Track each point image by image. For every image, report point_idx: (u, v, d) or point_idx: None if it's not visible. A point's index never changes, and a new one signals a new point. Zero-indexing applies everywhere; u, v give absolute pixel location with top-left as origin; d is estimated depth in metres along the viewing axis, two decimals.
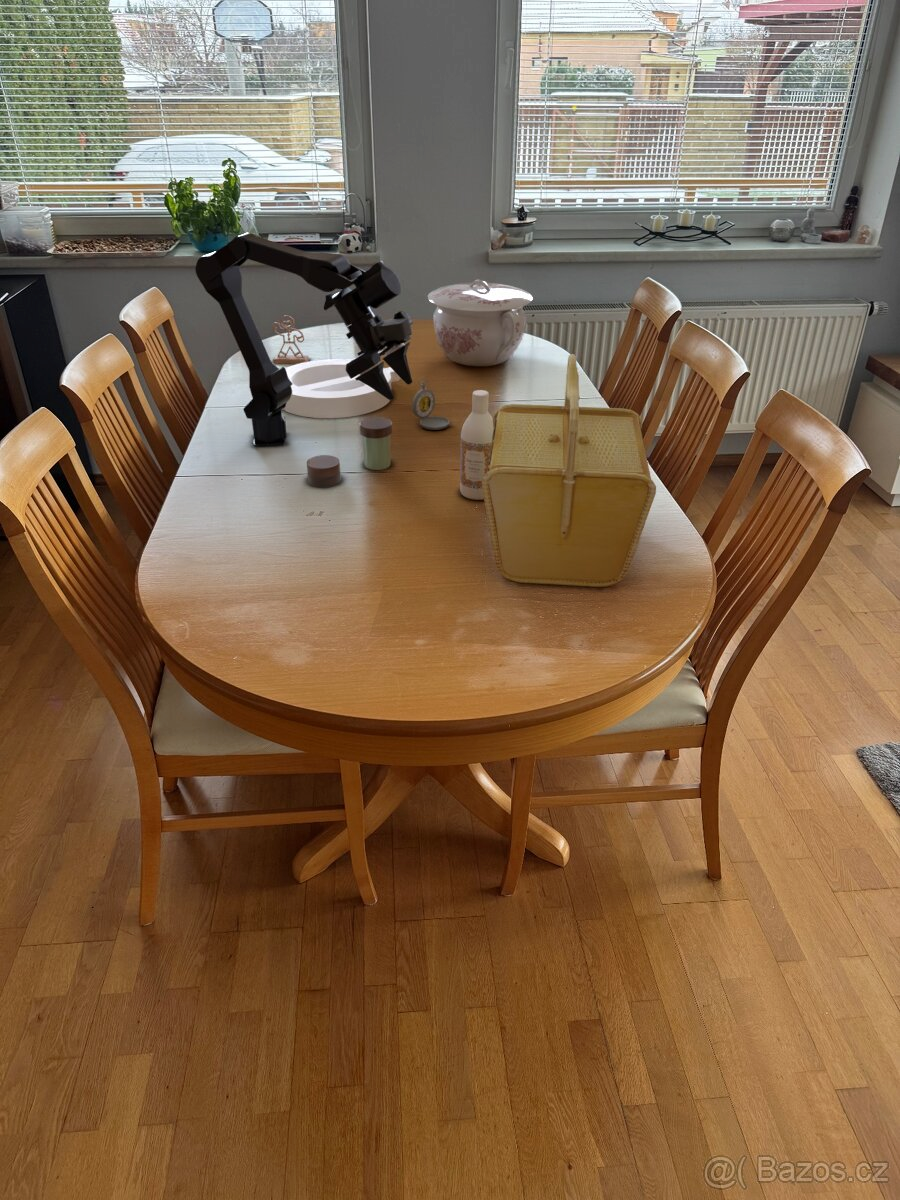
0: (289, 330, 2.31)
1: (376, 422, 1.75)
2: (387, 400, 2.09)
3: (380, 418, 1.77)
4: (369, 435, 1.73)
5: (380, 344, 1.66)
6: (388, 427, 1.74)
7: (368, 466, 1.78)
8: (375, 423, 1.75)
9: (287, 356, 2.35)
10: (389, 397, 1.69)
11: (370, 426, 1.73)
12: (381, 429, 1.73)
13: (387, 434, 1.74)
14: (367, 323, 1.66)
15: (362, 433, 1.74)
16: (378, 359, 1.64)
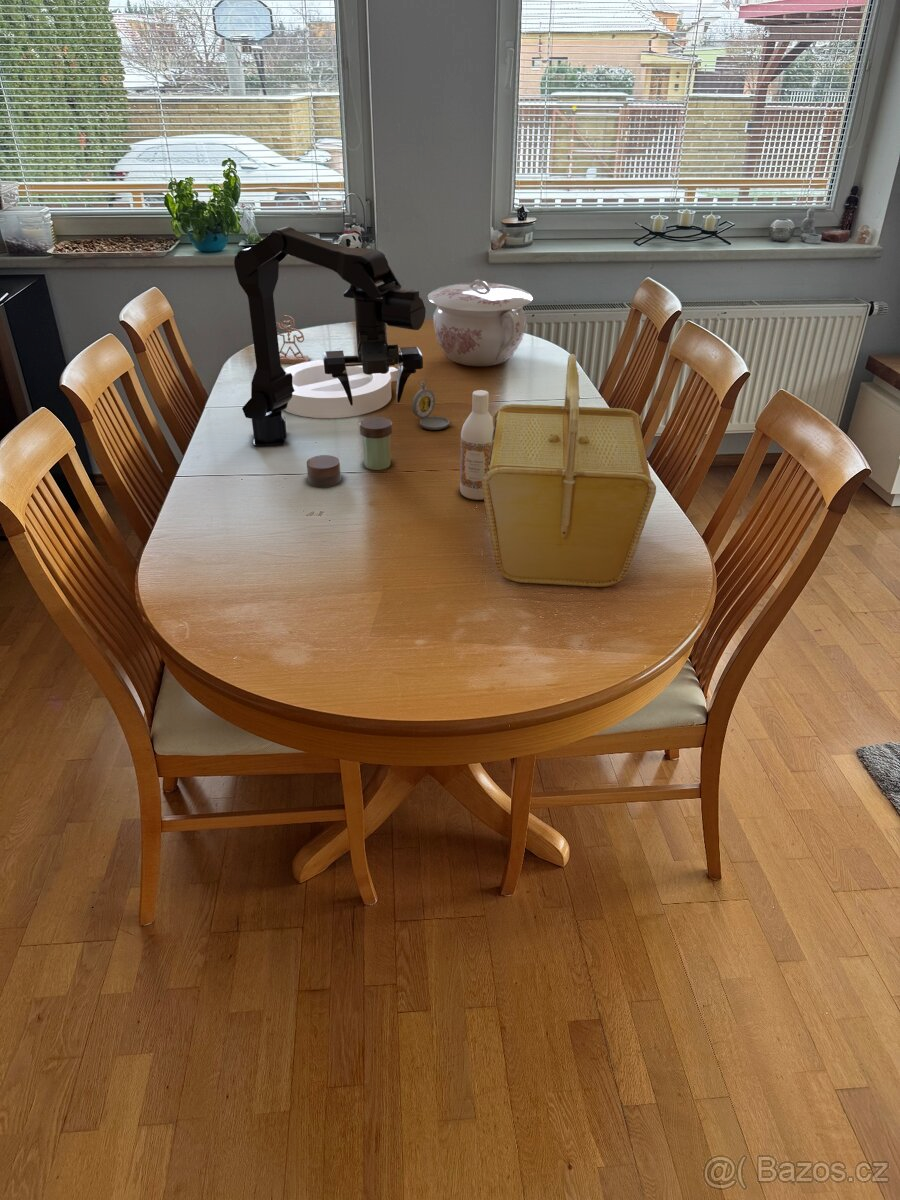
0: (289, 330, 2.31)
1: (376, 422, 1.75)
2: (387, 400, 2.09)
3: (380, 418, 1.77)
4: (369, 435, 1.73)
5: (358, 359, 1.65)
6: (388, 427, 1.74)
7: (368, 466, 1.78)
8: (375, 423, 1.75)
9: (287, 356, 2.35)
10: (349, 401, 1.72)
11: (370, 426, 1.73)
12: (381, 429, 1.73)
13: (387, 434, 1.74)
14: (359, 334, 1.63)
15: (362, 433, 1.74)
16: (338, 371, 1.65)
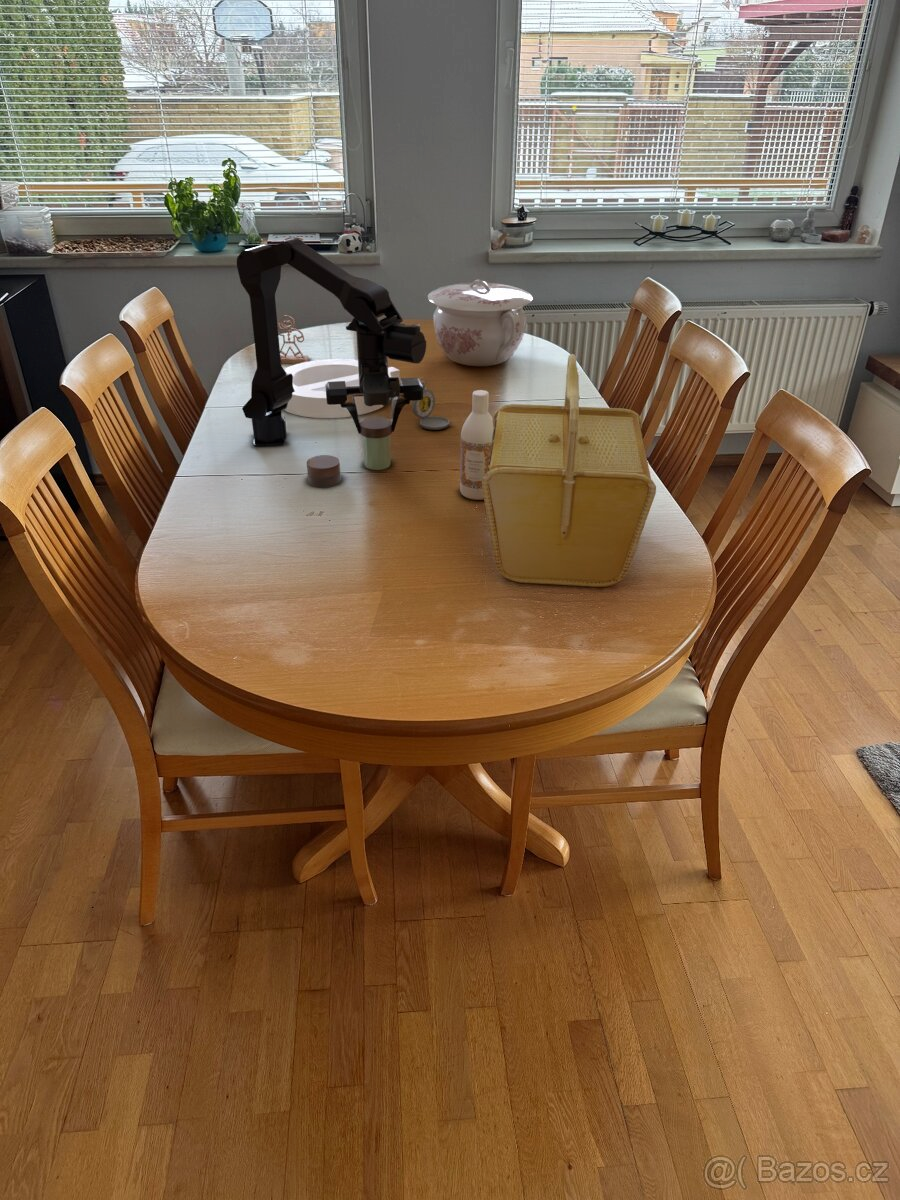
0: (289, 330, 2.31)
1: (376, 422, 1.75)
2: None
3: (380, 418, 1.77)
4: (369, 435, 1.73)
5: (360, 390, 1.68)
6: (388, 427, 1.74)
7: (368, 466, 1.78)
8: (375, 423, 1.75)
9: (287, 356, 2.35)
10: (357, 430, 1.75)
11: (370, 426, 1.73)
12: (381, 429, 1.73)
13: (387, 434, 1.74)
14: (361, 367, 1.66)
15: (362, 433, 1.74)
16: (340, 402, 1.68)
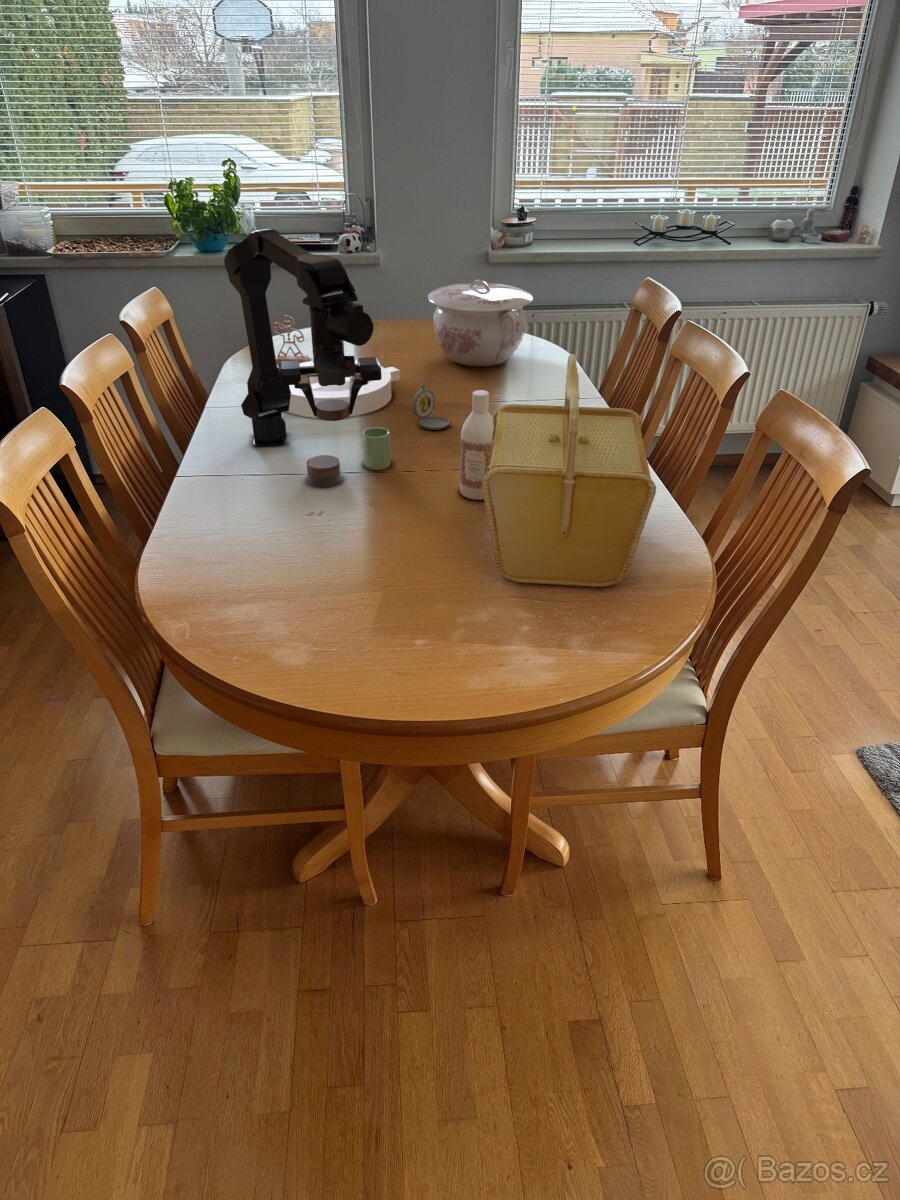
0: (289, 330, 2.31)
1: (333, 404, 1.67)
2: (387, 400, 2.09)
3: (337, 400, 1.69)
4: (326, 417, 1.65)
5: (314, 370, 1.60)
6: (345, 409, 1.66)
7: (368, 466, 1.78)
8: (332, 406, 1.66)
9: (287, 356, 2.35)
10: None
11: (326, 408, 1.65)
12: (338, 411, 1.65)
13: (344, 416, 1.66)
14: (315, 345, 1.58)
15: (318, 416, 1.66)
16: (294, 382, 1.60)
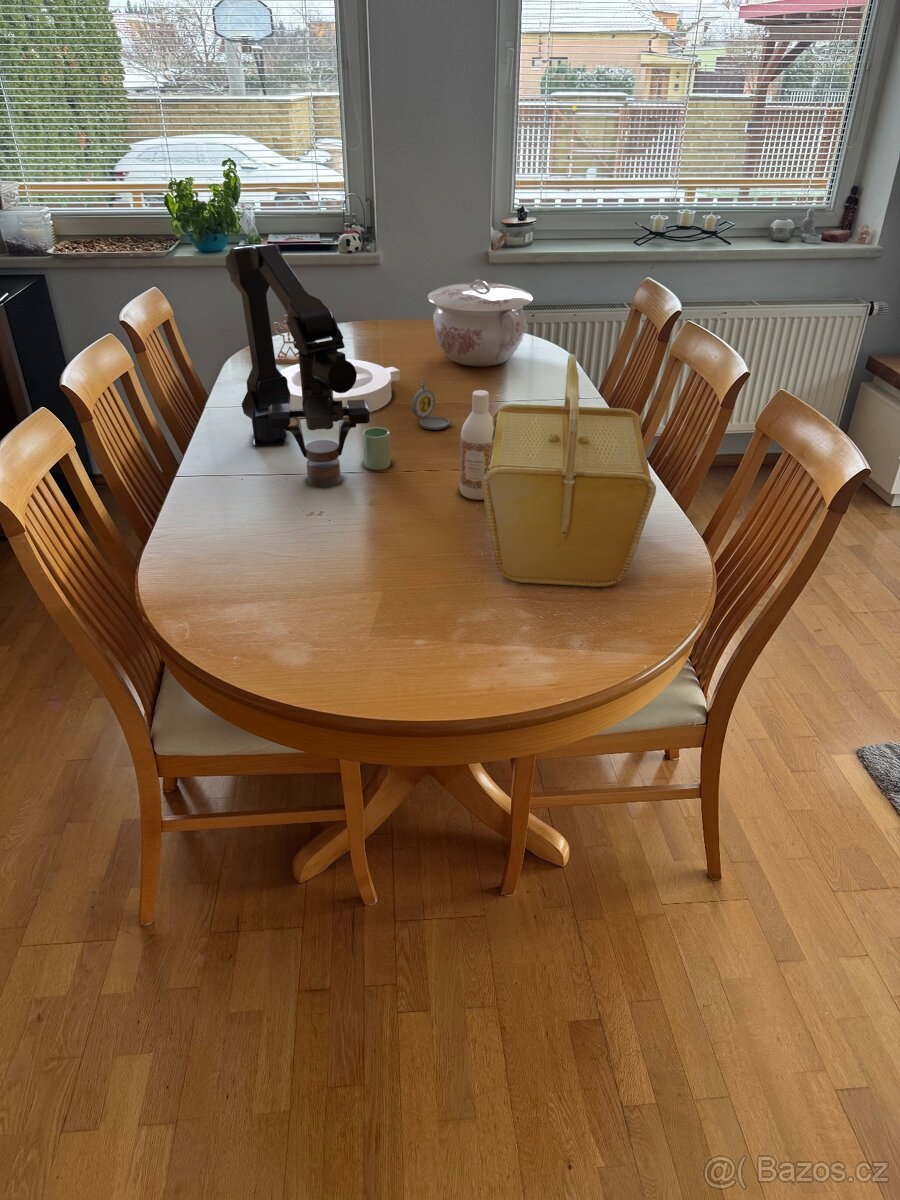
0: None
1: (322, 445, 1.70)
2: (387, 400, 2.09)
3: (327, 441, 1.72)
4: (315, 459, 1.68)
5: (303, 414, 1.63)
6: (334, 451, 1.68)
7: (368, 466, 1.78)
8: (321, 447, 1.69)
9: (287, 356, 2.35)
10: (303, 454, 1.70)
11: (316, 450, 1.68)
12: (327, 453, 1.67)
13: (333, 458, 1.69)
14: (304, 389, 1.61)
15: (308, 457, 1.69)
16: (283, 425, 1.63)
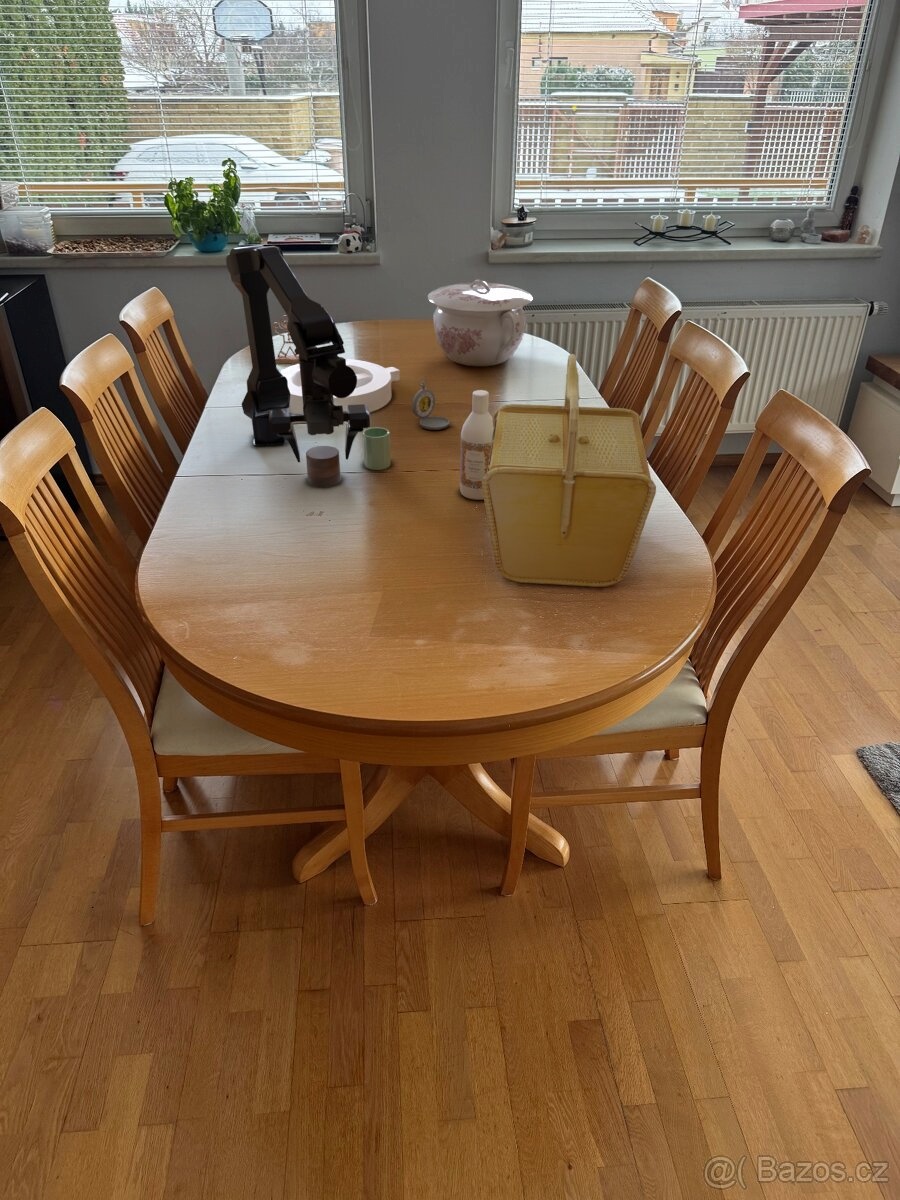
0: None
1: (323, 451, 1.70)
2: (387, 400, 2.09)
3: (327, 447, 1.72)
4: (315, 465, 1.68)
5: (304, 418, 1.63)
6: (335, 457, 1.69)
7: (368, 466, 1.78)
8: (322, 453, 1.70)
9: (287, 356, 2.35)
10: None
11: (316, 456, 1.69)
12: (327, 459, 1.68)
13: (334, 464, 1.69)
14: (304, 394, 1.61)
15: (308, 463, 1.69)
16: (284, 430, 1.63)
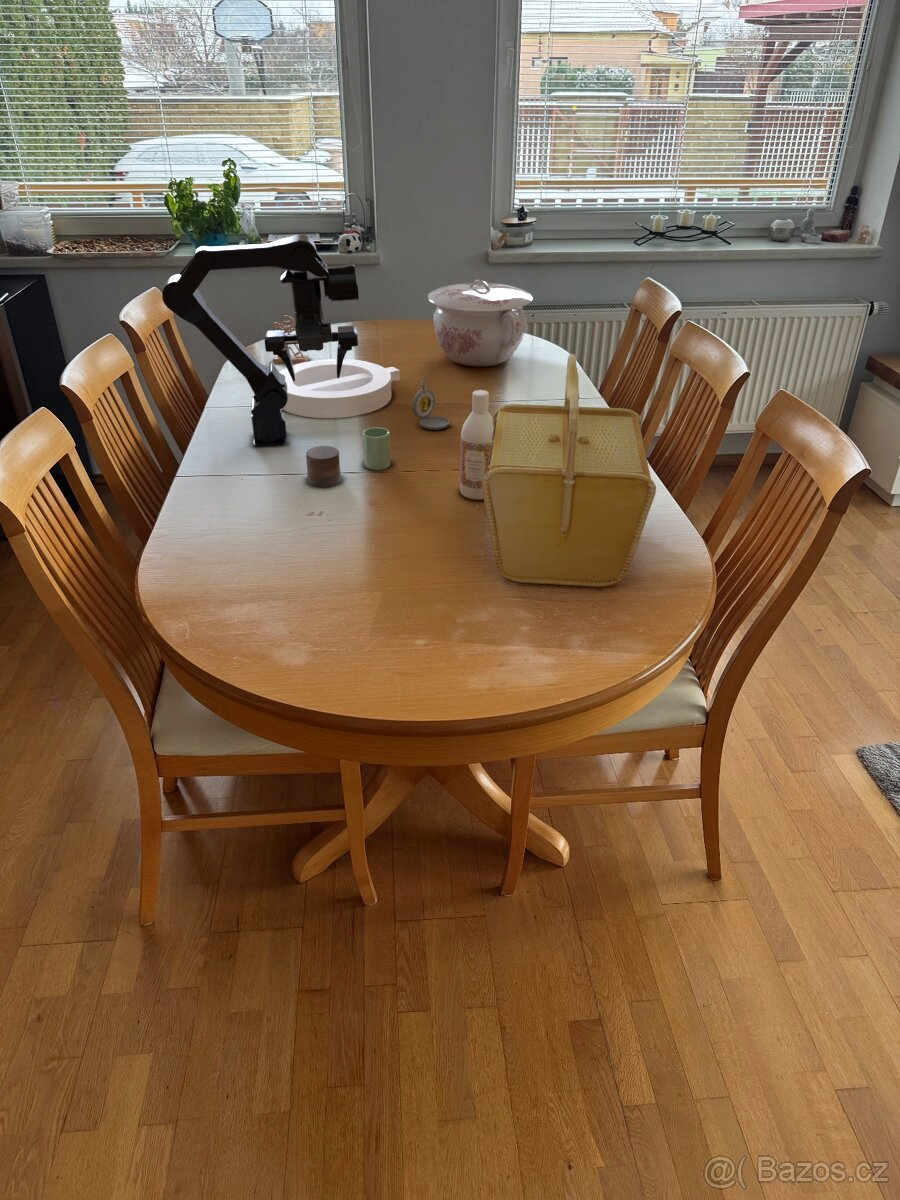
0: (289, 330, 2.31)
1: (323, 451, 1.70)
2: (387, 400, 2.09)
3: (327, 447, 1.72)
4: (315, 465, 1.68)
5: (296, 337, 1.77)
6: (335, 457, 1.69)
7: (368, 466, 1.78)
8: (322, 453, 1.70)
9: None
10: (292, 378, 1.84)
11: (316, 456, 1.69)
12: (327, 459, 1.68)
13: (334, 464, 1.69)
14: (296, 314, 1.75)
15: (308, 463, 1.69)
16: (278, 349, 1.77)
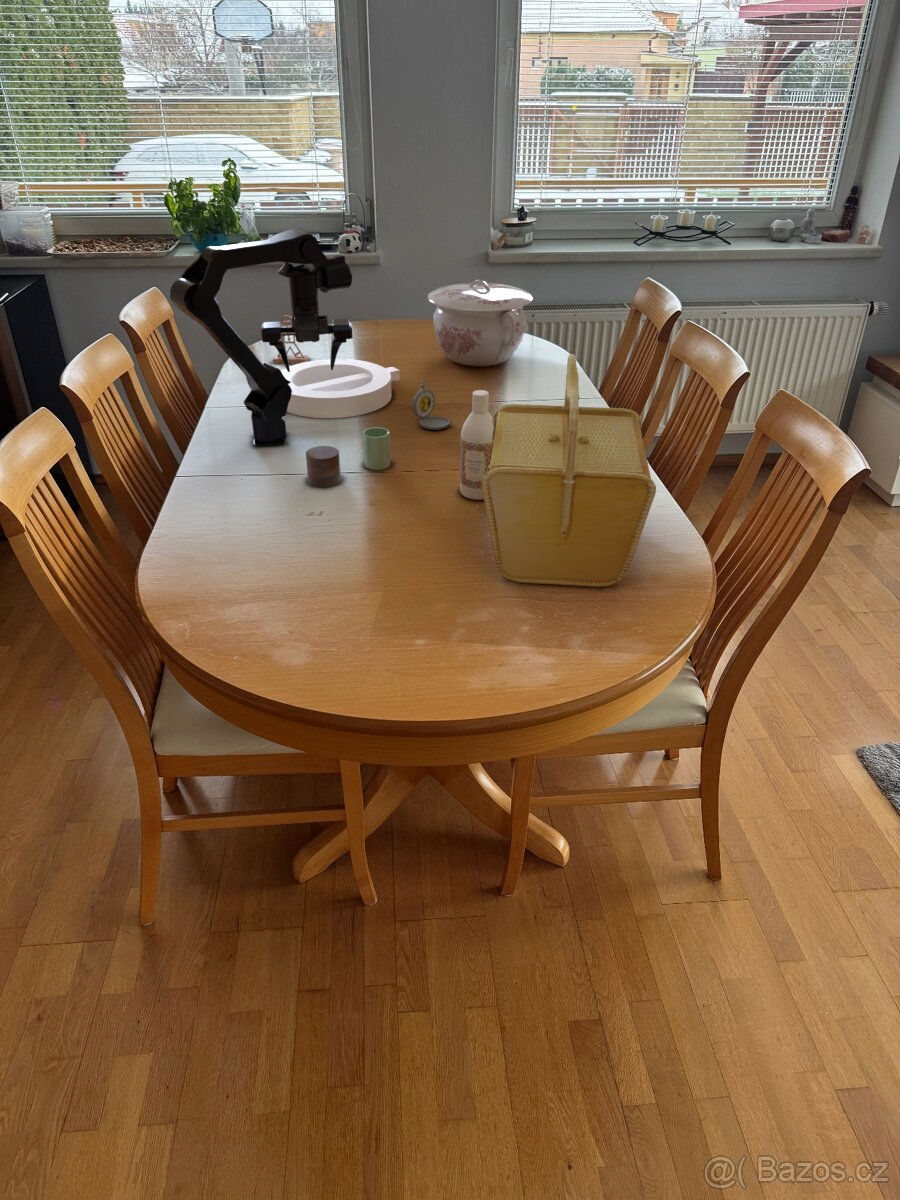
0: None
1: (323, 451, 1.70)
2: (387, 400, 2.09)
3: (327, 447, 1.72)
4: (315, 465, 1.68)
5: (292, 329, 1.81)
6: (335, 457, 1.69)
7: (368, 466, 1.78)
8: (322, 453, 1.70)
9: None
10: (287, 368, 1.89)
11: (316, 456, 1.69)
12: (327, 459, 1.68)
13: (334, 464, 1.69)
14: (293, 306, 1.79)
15: (308, 463, 1.69)
16: (275, 339, 1.82)
